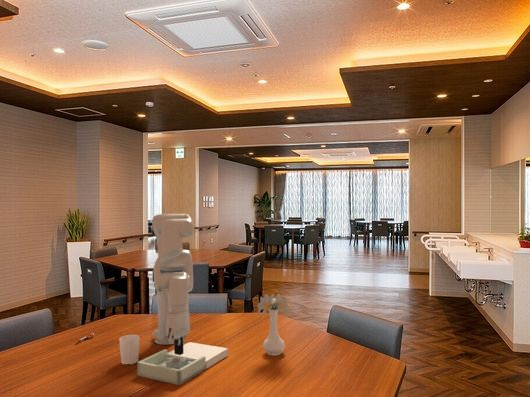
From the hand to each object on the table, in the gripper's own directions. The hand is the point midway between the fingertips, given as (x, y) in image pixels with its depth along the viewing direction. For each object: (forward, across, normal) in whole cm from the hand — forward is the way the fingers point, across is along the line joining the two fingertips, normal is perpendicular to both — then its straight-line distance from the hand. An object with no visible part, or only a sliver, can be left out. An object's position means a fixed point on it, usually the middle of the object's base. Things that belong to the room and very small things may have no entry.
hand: (178, 353), depth 167 cm
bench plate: (+6, -11, +1) cm, 13 cm away
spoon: (+7, -5, -62) cm, 63 cm away
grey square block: (+4, +3, +1) cm, 5 cm away
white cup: (+6, +4, -22) cm, 23 cm away
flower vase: (+6, -30, +27) cm, 41 cm away
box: (+5, +5, +1) cm, 7 cm away
